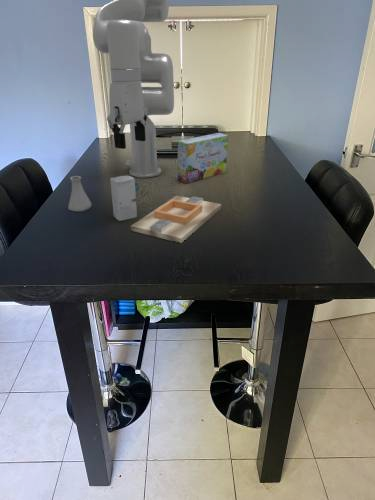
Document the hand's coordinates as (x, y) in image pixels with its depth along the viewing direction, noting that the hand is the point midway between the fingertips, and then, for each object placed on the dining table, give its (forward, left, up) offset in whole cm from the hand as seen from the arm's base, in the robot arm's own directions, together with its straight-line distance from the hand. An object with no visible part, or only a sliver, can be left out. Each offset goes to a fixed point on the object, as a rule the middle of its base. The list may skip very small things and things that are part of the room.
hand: (130, 144), depth 105 cm
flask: (-19, -3, -22) cm, 29 cm away
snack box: (+2, +43, -22) cm, 48 cm away
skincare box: (-2, -2, -22) cm, 22 cm away
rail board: (+13, +4, -21) cm, 25 cm away
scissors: (-12, +14, -22) cm, 29 cm away
